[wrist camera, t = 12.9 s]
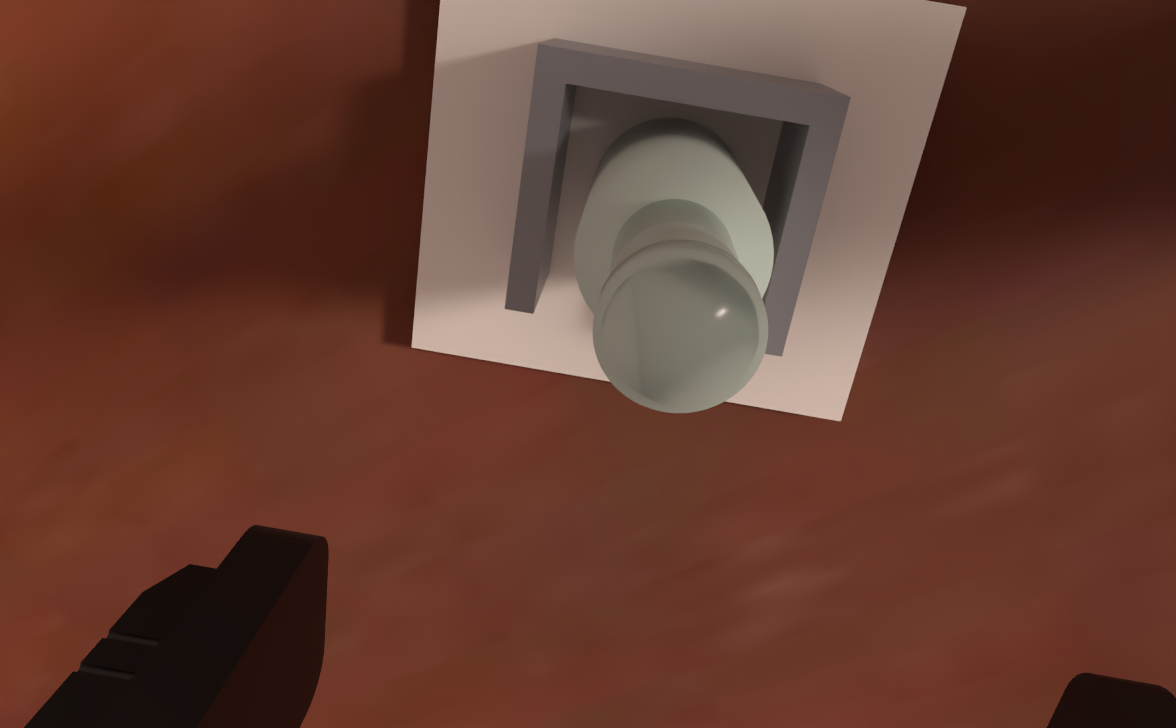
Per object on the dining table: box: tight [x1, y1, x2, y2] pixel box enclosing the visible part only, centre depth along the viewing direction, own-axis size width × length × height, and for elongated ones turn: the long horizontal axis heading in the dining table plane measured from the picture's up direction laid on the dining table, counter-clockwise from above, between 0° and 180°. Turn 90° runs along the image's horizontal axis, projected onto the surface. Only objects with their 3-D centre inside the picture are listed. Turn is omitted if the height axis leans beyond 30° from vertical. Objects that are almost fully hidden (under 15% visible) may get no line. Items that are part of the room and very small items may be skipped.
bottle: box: [574, 118, 774, 413], centre depth 26 cm, size 6×6×15 cm
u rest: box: [412, 0, 967, 421], centre depth 31 cm, size 18×16×6 cm
